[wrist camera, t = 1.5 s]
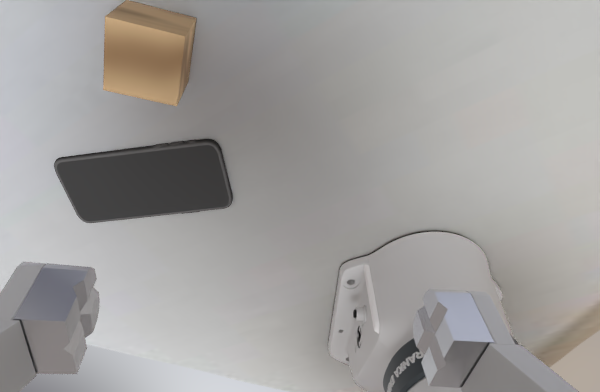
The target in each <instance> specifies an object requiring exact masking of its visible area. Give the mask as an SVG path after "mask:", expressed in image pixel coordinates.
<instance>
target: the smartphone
mask: <svg viewBox="0 0 600 392" xmlns="http://www.w3.org/2000/svg"><path fill="white" fill-rule="evenodd" d="M54 167H55V171H56V174H57V176H58V178H59V180H60V182H61V184H62V186H63V188H64V190H65V192H66V194H67V196H68V198H69V199H70V201H71V203H72V205H73V207H74V209H75V211H76V213H77V215H78V217H79V218H80V219H81V220H82V221H84V222H87V223H96V222H105V221H114V220H123V219H133V218H142V217H151V216H160V215H169V214H178V213H182V214H183V213H192V212H200V211H206V210H215V209H224V208H227V207H229V206H230V205H231V203H232V199H233V197H232V192H231V188H230V184H229V180H228V176H227V172H226V168H225V163H224V159H223V155H222V151H221V148H220V146H219V145H218V143H217V142H215V141H214V140H210V139H204V140H190V141H187V142H184V141H181V142H173V143H171V144H168V143H165V144H157V145H154V146H146V147H139V148H131V149H123V150H115V151H107V152H99V153H92V154H84V155H76V156H68V157H61V158H58V159H57V160H56V161H55V164H54Z"/></svg>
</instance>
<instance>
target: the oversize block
mask: <svg viewBox="0 0 600 392" xmlns="http://www.w3.org/2000/svg"><path fill="white" fill-rule="evenodd" d="M195 26H196V18H195V17H191V16H187V15H183V14H179V13H175V12H171V11H168V10H164V9H160V8H156V7H152V6H148V5H144V4H140V3H136V2H133V1H129V0H126V1H125V2H123V3H122V4H121V5H119V6H118V7H117V8H116V9H114V10H113V11H112V12H110V13H109V14H108V15H106V16H105V42H104V86H103V90H106V91H110V92H115V93H119V94H124V95H128V96H133V97H137V98H142V99H146V100H151V101H155V102H160V103H164V104H169V105H173V106H177V105H178V103H179V100H180V98H181V96H182V94H183V92H184V90H185V87H186V85H187V83H188V80H189V72H190V64H191V57H192V49H193V41H194V34H195Z"/></svg>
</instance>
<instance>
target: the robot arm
mask: <svg viewBox="0 0 600 392" xmlns="http://www.w3.org/2000/svg"><path fill="white" fill-rule="evenodd" d="M350 279H352V280H350ZM95 281H96V274H95V269H94V268H92V267H81V266H70V265H58V264H43V263H31V262H23V263H21V264H20V265H19V266H18V267H17V268H16V269H15V271H14V273H13V274H12V276H11V277H10V279H9V280H8V282H7V284H6V285H5V287H4V288H3V290H2V291H1V293H0V392H20V391H21V390H22V389H23V388H24V387H25V386H26V385H27V384H28V383H29V382H30V381H31V380H32V379H34V378H35V377H36V374H77V373H78V370H79V367H80V365H81V362H82V359H83V357H84V354H85V351H86V349H87V347H86V341H85V338H86V337H87V336H88V335H90V334H91V333H92V332H93V331H94V328H95V325H96V322H97V318H98V313H99V300H100V299H99V292H98V291H97V290H96V289H94V288H93V286H94V284H95ZM502 298H503V295H502V292H501V290H500V287H499V286H498V284H497V283H496V282H495V281H494V280H493V279H492V277H491V274H490V269H489V264H488V260H487V258H486V256H485V254H484V252H483V251H482V250H481V248H480V247H479V246H478V245H477V244H475V243H474V242H472V241H471V240H469V239H467V238H465V237H463V236H460V235H457V234H453V233H447V232H423V233H417V234H413V235H409V236H405V237H402V238H400V239H397V240H395V241H393V242H391V243H389V244H387V245H385V246H384V247H382V248H381V249H379V250H377V251H376V252H374V253H372V254H370V255H368V256H364V257H361V258H357V259H353V260H350V261H348V262H346V263H344V264H343V265H342V266H341V268H340V271H339V278H338V284H337V291H336V297H335V303H334V310H333V316H332V322H331V329H330V335H329V342H328V351H329V354H330V356H331V357H333V358H334V359H336V360H337V361H339V362H342V363H344V364H346V365H349V366H350V368H351V373H352V377H353V380H354V382H355V383H356V384H357V385H358V386H359V387H361V388H362V389H363V390H365V391H367V392H579V391H578V390H576V389H575V388H574V387H573V386H571V385H570V384H569V383H567V382H566V381H565V380H564V379H563V378H561V377H560V376H559V375H558V374H557V373H555V372H554V371H553V370H551V369H550V368H549V367H548V366H547V365H545V364H544V363H543V362H542V361H540V360H539V359H538V358H537V357H535V356H534V355H533V354H532V353H530V352H529V351H528V350H527V349H525V348H524V347H523V346H522V345H518V343H517V341H516V340H515V339H514V336H513V333H512V331H511V328H510V325H509V323H508V320H507V317H506V314H505V312H504V309H503V307H502V304H501V302H500V301H501V300H502Z"/></svg>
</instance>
